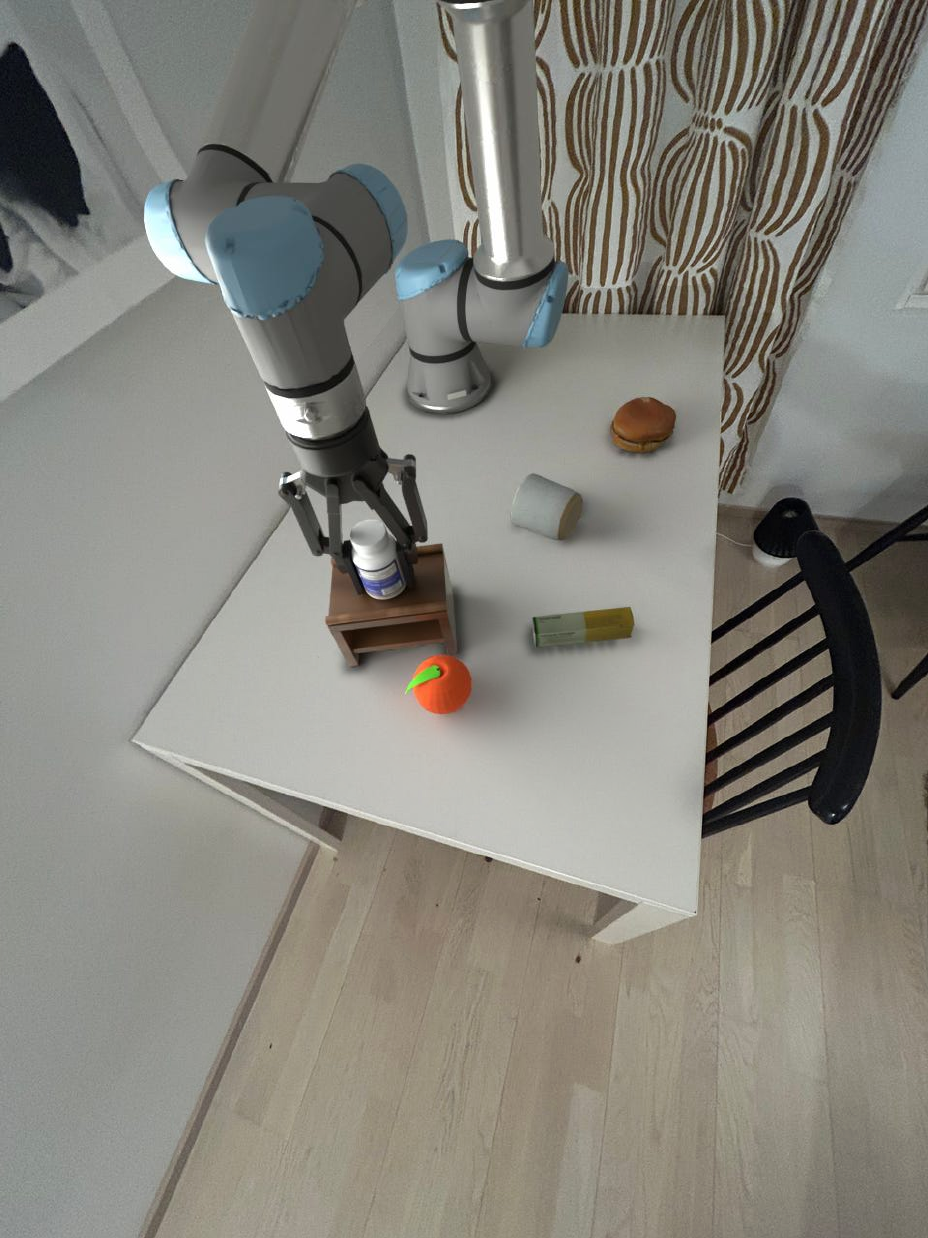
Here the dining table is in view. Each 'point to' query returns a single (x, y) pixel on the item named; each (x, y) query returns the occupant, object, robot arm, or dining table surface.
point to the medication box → (583, 627)
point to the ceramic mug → (546, 507)
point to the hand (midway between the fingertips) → (386, 582)
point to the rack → (395, 611)
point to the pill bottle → (377, 559)
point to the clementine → (441, 684)
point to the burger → (643, 425)
